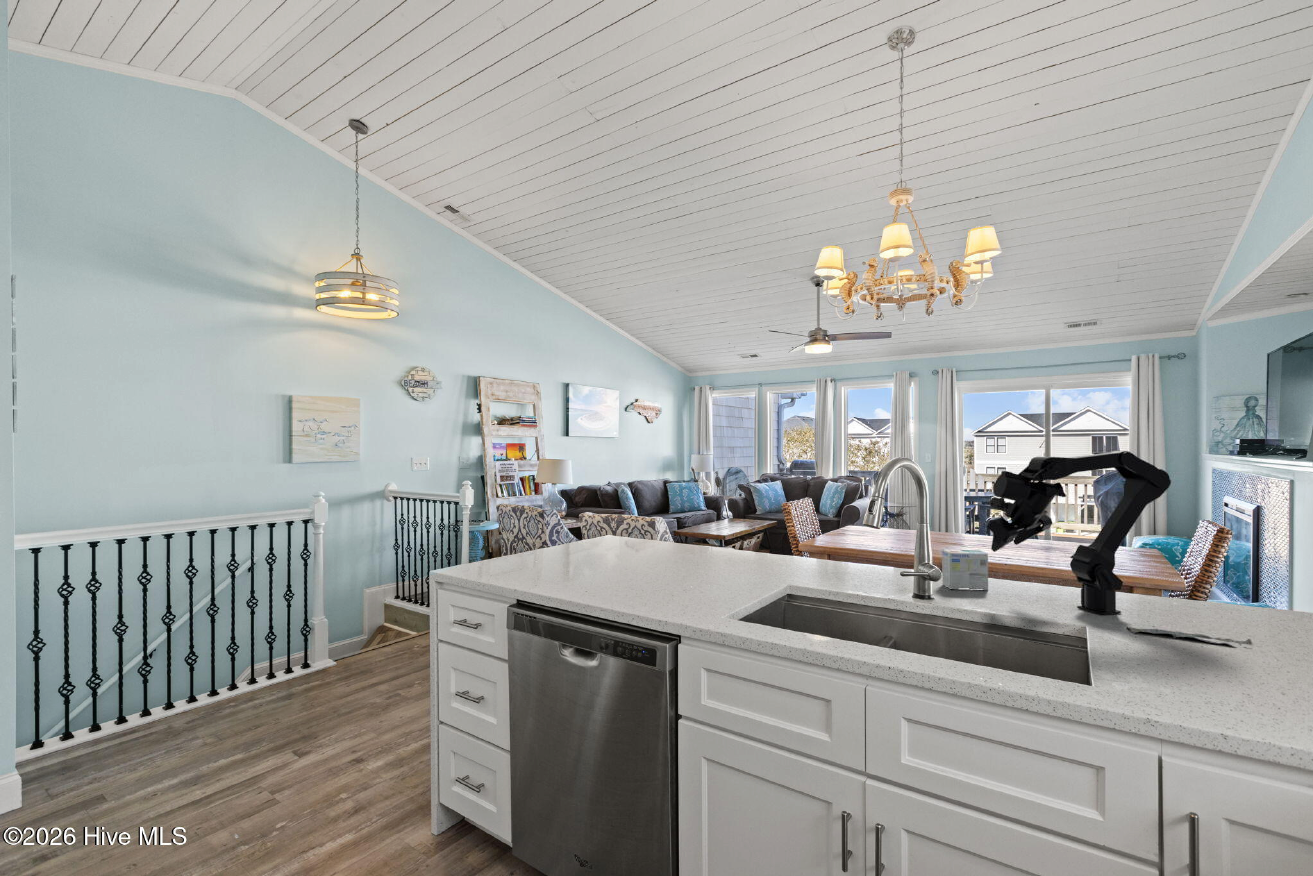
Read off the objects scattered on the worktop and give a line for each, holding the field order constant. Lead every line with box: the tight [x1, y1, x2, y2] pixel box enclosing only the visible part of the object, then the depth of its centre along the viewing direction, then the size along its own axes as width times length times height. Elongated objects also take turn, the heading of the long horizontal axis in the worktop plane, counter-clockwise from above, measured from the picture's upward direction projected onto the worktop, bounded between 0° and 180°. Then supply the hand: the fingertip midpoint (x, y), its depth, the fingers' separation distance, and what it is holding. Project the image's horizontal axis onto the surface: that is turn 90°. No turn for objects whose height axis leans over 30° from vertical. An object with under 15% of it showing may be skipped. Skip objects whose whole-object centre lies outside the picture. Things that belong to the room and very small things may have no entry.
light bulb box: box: [941, 548, 989, 591], centre depth 172 cm, size 11×7×11 cm, turn 84°
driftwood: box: [1126, 625, 1253, 650], centre depth 128 cm, size 21×7×2 cm, turn 55°
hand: (1004, 547), depth 159 cm, fingers open, 9 cm apart
